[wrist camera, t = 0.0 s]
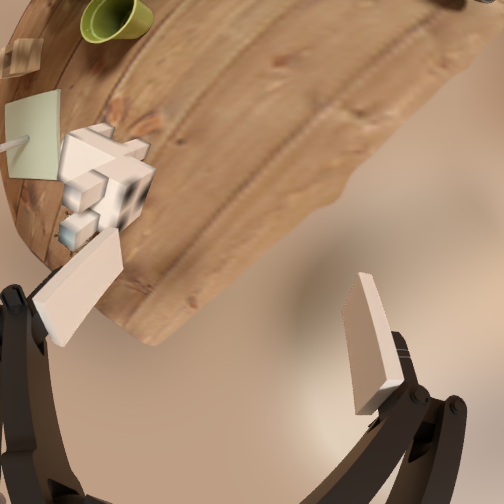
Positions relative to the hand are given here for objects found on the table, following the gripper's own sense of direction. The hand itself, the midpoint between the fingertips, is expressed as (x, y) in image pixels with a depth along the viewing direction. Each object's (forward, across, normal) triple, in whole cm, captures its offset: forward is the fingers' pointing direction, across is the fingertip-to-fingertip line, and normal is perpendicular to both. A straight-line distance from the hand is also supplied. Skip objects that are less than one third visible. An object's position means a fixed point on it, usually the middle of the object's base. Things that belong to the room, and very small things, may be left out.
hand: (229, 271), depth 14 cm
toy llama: (+28, -23, -2) cm, 37 cm away
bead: (+28, -50, +20) cm, 61 cm away
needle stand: (+28, -49, +2) cm, 57 cm away
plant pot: (+28, -23, +21) cm, 42 cm away
